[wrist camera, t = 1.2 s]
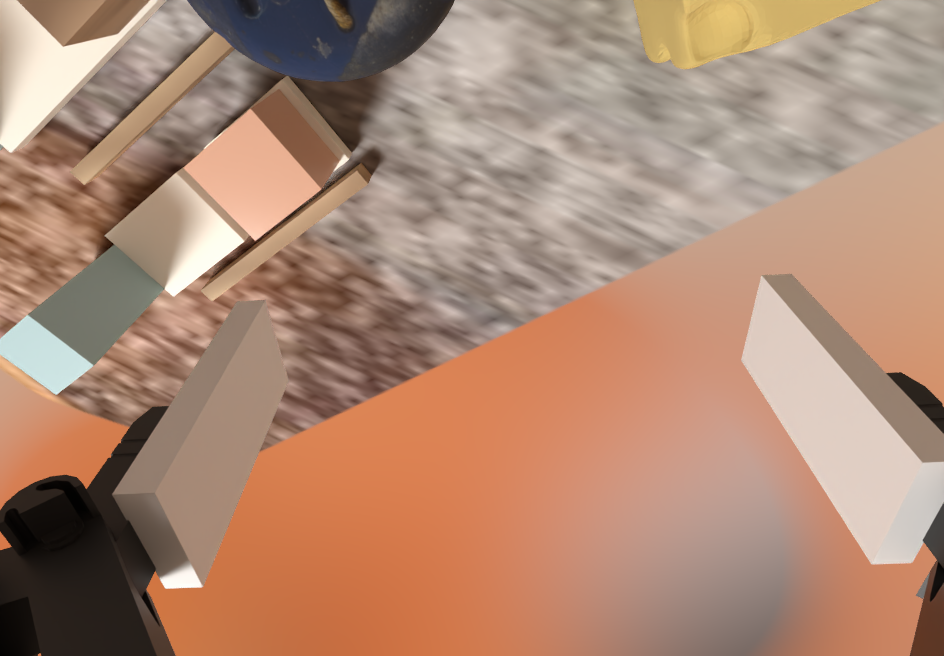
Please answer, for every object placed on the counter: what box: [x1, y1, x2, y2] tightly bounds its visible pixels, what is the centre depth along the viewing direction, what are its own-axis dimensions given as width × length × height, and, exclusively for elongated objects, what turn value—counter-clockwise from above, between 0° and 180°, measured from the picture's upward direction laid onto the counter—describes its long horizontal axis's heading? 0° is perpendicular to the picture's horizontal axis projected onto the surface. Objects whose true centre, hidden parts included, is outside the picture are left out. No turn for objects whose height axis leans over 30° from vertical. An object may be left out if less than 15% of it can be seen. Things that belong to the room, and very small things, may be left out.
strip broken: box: [0, 76, 352, 395], centre depth 34 cm, size 6×20×10 cm, turn 126°
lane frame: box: [70, 32, 372, 301], centre depth 34 cm, size 21×14×2 cm, turn 36°
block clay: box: [184, 89, 340, 241], centre depth 33 cm, size 5×5×5 cm
